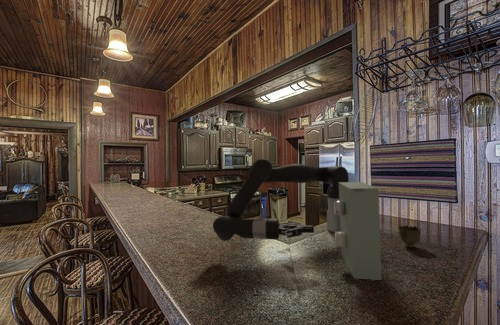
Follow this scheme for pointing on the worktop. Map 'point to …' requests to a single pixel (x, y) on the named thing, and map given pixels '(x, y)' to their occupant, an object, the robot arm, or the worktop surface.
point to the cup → (409, 235)
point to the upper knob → (339, 207)
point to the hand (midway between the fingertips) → (313, 229)
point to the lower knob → (340, 239)
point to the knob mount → (361, 229)
